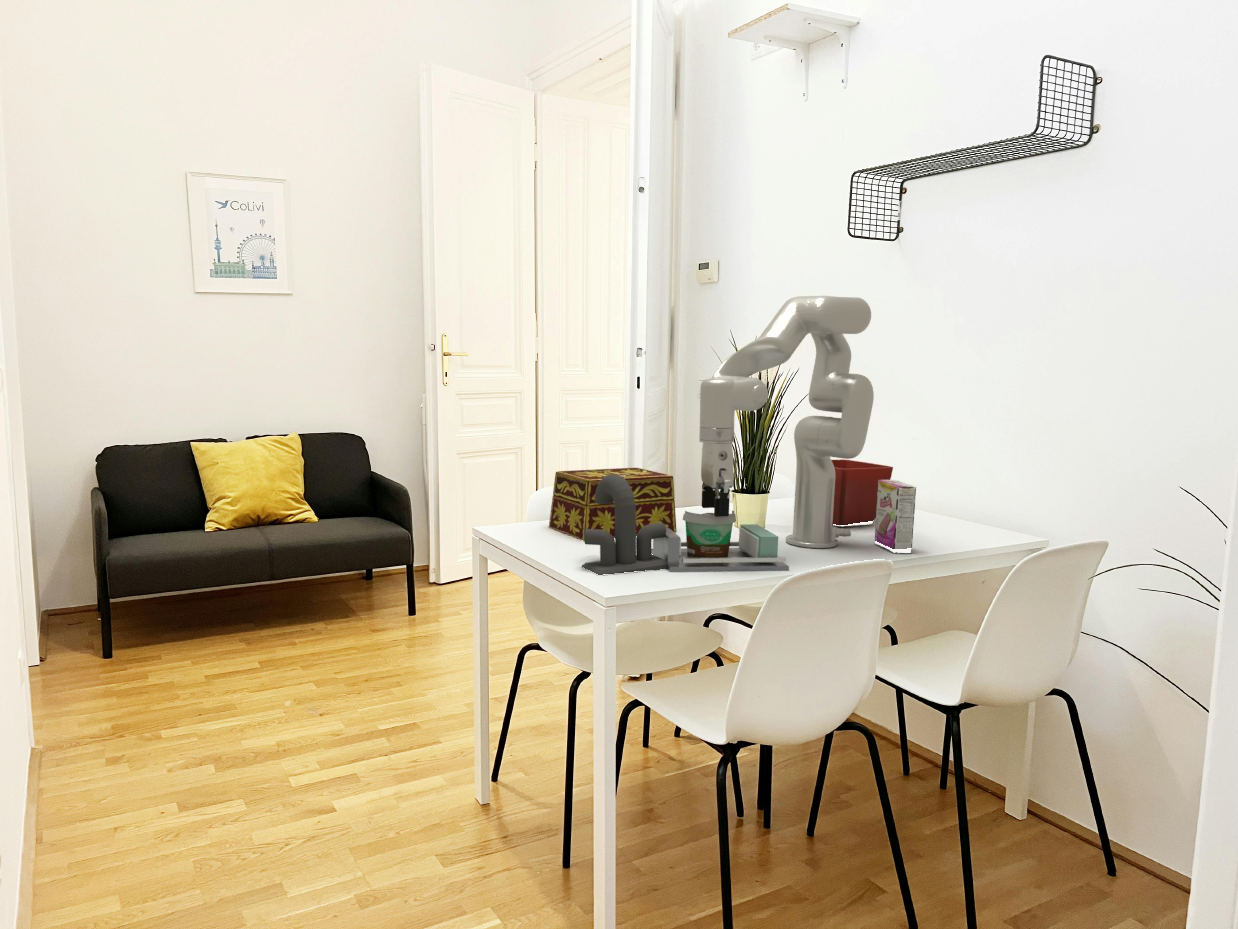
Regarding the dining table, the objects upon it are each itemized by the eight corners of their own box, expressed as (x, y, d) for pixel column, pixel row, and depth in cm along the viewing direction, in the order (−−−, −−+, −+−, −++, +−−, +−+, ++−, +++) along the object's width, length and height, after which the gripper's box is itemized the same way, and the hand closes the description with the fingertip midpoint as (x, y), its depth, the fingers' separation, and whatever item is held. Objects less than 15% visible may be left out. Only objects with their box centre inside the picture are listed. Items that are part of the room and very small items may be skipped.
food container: (689, 561, 200) (691, 515, 199) (680, 554, 206) (682, 510, 205) (742, 559, 203) (745, 515, 202) (732, 553, 209) (734, 510, 208)
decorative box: (637, 520, 252) (639, 466, 250) (677, 533, 236) (679, 475, 234) (548, 528, 237) (549, 470, 235) (584, 542, 222) (586, 480, 220)
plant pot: (841, 515, 271) (844, 458, 269) (890, 526, 255) (895, 466, 253) (792, 519, 262) (795, 460, 259) (840, 531, 245) (844, 469, 243)
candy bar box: (872, 544, 230) (877, 479, 228) (891, 544, 231) (896, 479, 229) (893, 554, 219) (897, 486, 217) (912, 554, 220) (917, 486, 218)
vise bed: (760, 552, 216) (762, 522, 215) (788, 570, 199) (790, 538, 198) (650, 553, 211) (651, 523, 210) (669, 571, 194) (671, 539, 193)
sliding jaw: (755, 548, 214) (756, 524, 213) (776, 562, 200) (778, 536, 200) (737, 548, 213) (738, 524, 212) (757, 562, 199) (758, 536, 199)
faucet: (636, 553, 211) (635, 466, 208) (672, 568, 197) (672, 476, 194) (564, 563, 202) (562, 473, 199) (597, 580, 188) (595, 484, 185)
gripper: (745, 439, 194) (743, 519, 196) (721, 430, 210) (719, 504, 213) (711, 440, 192) (709, 520, 195) (689, 431, 209) (688, 505, 212)
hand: (714, 511), depth 204 cm, fingers open, 9 cm apart
